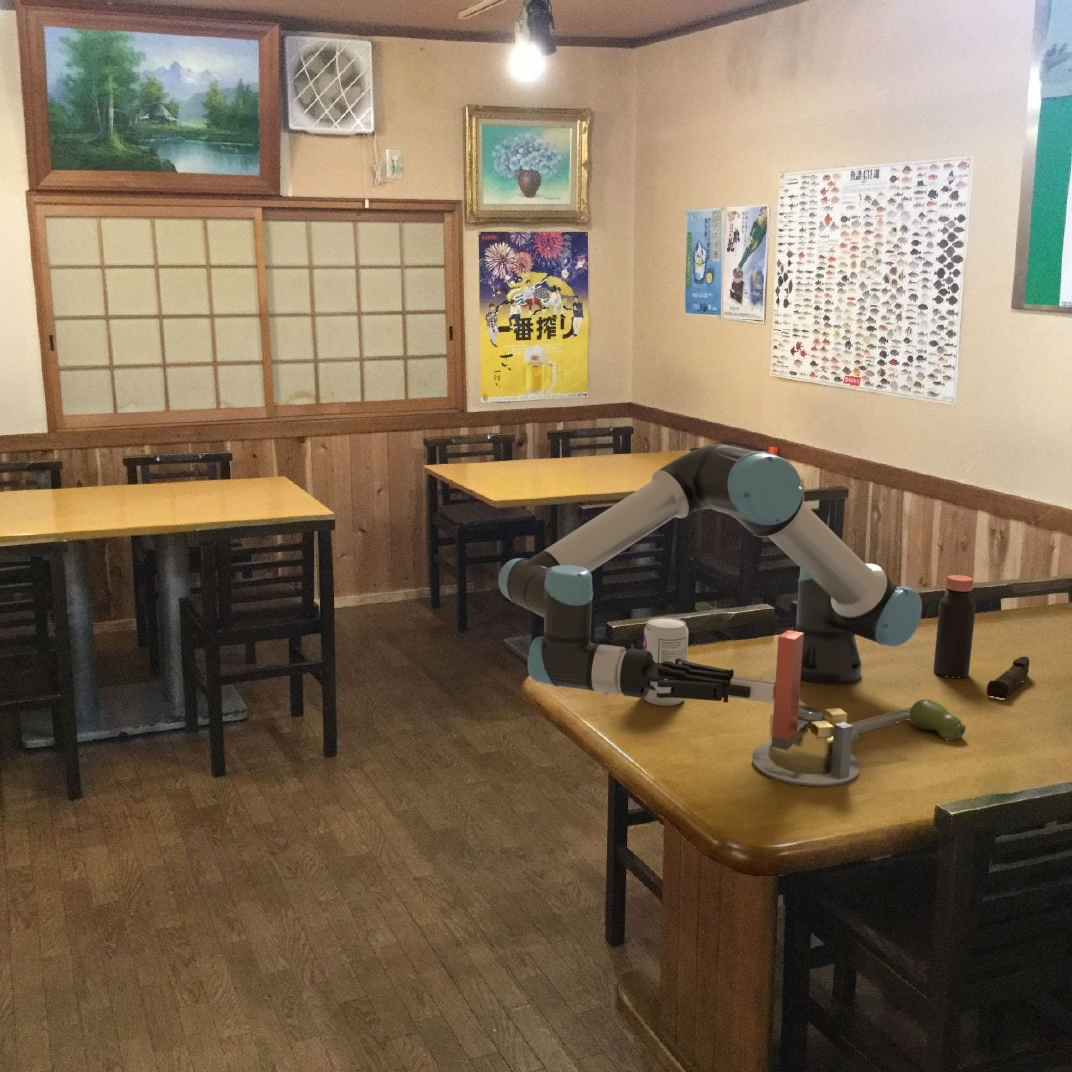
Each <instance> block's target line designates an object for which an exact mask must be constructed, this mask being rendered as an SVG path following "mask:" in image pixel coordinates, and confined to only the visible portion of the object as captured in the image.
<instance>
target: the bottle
mask: <svg viewBox="0 0 1072 1072" xmlns="http://www.w3.org/2000/svg"><path fill="white" fill-rule="evenodd" d="M973 584H974V578H973V577H970V576H968V575H961V574H951V575H948V576H947V577H946V586H945V587H946V591H947V594H945V596H943V597H942V598H941V599H940V601H939V609H938V617H937V618H938V619H937V626H936V627H937V629H936V639H935V650H934V651H935V652H934V660H933V661H934V662H933V671H934V672H933V673H935V674H936V673H937V674H936V675H938V676H940V675H941V676H940V677H943V676H948V677H955V678H954V679H963V678H962V677H965V678H966V676H967V677H968V676H969V674H970V667H971V666H970V665H971V655H972V649H973V648H972V645H973V639H974V637H973V636H974V625H975V615H976V607H977V605H976V603H975V601H974V600H973V598H972V597H971V593H972V592H973V587H974V585H973ZM948 677H947V678H948ZM958 677H960V678H958Z"/></svg>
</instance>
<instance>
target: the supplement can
mask: <svg viewBox="0 0 1072 1072" xmlns="http://www.w3.org/2000/svg"><path fill="white" fill-rule="evenodd" d="M688 647H689V629H688V627H687V625H686V622H685V621H684V620H682V619H679V618H675V617H667V616H665V617H664V616H662V617H661V616H659V617H652V618H650V619H648V620H647V623H646V625H645V627H644V630H643V648H642V650H647V651H650V652H651V654H652V656H653V661H654V662H655V663H663V662H673V663H674V664H675V659H682V660H685V661H688V653H689V652H688V649H689V648H688ZM643 699H644V700H645V701H646V702H647V703H649V704H652V705H655V706H662V707H663V706H664V707H671V706H676V705H679V704H681V703H682V702H683V701H684V700H686V698H673V697H671V698H658V697H657V690H656V691H655V690H649V693H648V694H647V696H646V697H644V698H643Z"/></svg>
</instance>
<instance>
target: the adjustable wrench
mask: <svg viewBox="0 0 1072 1072" xmlns="http://www.w3.org/2000/svg"><path fill="white" fill-rule="evenodd" d="M911 708H912V706H911V707H910V706H909V707H907V708H906V707H905V708H903V709H899V710H895V711H891V712H888V713H884V714H881V715H876V716H872V717H869V718H866V719H865V718H864V719H861V720H857V721H854V722H847V724H850V725H852V726H853V732H852V742H858V740H859V739H860V735H859V734H861V733H865V732H869V731H872V730H876V728H877V729H880V728H879V727H881V728H885V727H888V726H891V725H890V724H892V725H894V724H893V723H896V722H900V723H903V722H902V721H904V720H907V719H910V710H911ZM907 721H908V720H907ZM904 722H905V721H904ZM896 724H897V723H896ZM887 725H888V726H887ZM884 726H885V727H884Z"/></svg>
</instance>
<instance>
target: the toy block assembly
mask: <svg viewBox="0 0 1072 1072" xmlns="http://www.w3.org/2000/svg"><path fill="white" fill-rule="evenodd" d="M803 637H804V633H801V632H796V630H795V631H794V630H786V631H784V632H783V633H782V634H780V635H778V639H777V654H776V656H777V657H776V670H775V681H776V682H775V698H774V700H773V712H770V713H769V714H770V715H769V717H770V718H769V736H768V737H769V738H768V742H769V752H768V755H769V758H770V759H771V760H772V761H773V762H774V763H776V764H778V765H780V766H782V767H785V768H788V769H791V770H795V771H801V772H810V773H821V772H829V771H831V760H832V747H833V734H834V724H837V723H841V722H845V723H848V713H847V712H846V711H844V710H843V709H842V708H838V707H837V708H824V709H825V710H824V711H822V712H823V721H815V722H811V726H808V725H809V721H804V720H799V719H798V709H799V707H808V705H807V704H806V703H805V702H803V701H802V700H801V699H800V691H801V680H802V679H801V666H802V651H803Z"/></svg>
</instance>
